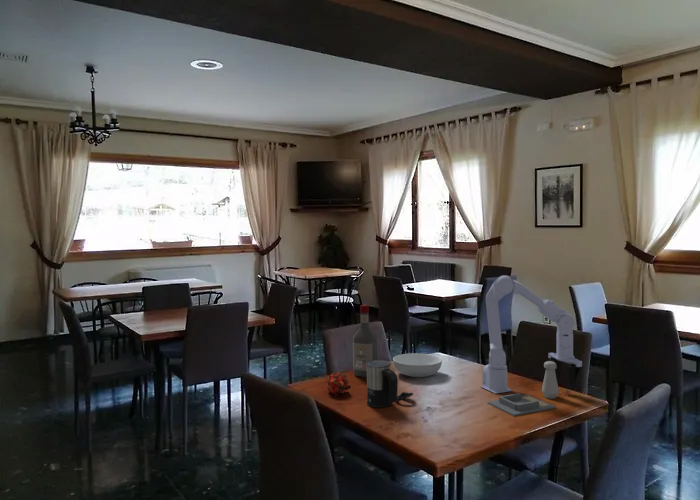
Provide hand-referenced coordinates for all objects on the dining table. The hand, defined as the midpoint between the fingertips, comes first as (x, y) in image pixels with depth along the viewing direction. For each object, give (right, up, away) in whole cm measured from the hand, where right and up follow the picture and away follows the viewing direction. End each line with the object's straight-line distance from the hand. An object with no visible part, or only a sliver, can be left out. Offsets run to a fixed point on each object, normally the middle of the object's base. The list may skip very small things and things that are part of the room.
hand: (564, 381), depth 196 cm
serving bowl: (-51, -5, +30) cm, 59 cm away
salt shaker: (-6, -5, -2) cm, 9 cm away
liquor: (-73, -5, +32) cm, 80 cm away
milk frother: (-66, -7, -5) cm, 66 cm away
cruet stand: (-20, -6, -11) cm, 24 cm away
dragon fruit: (-85, -6, +6) cm, 85 cm away
